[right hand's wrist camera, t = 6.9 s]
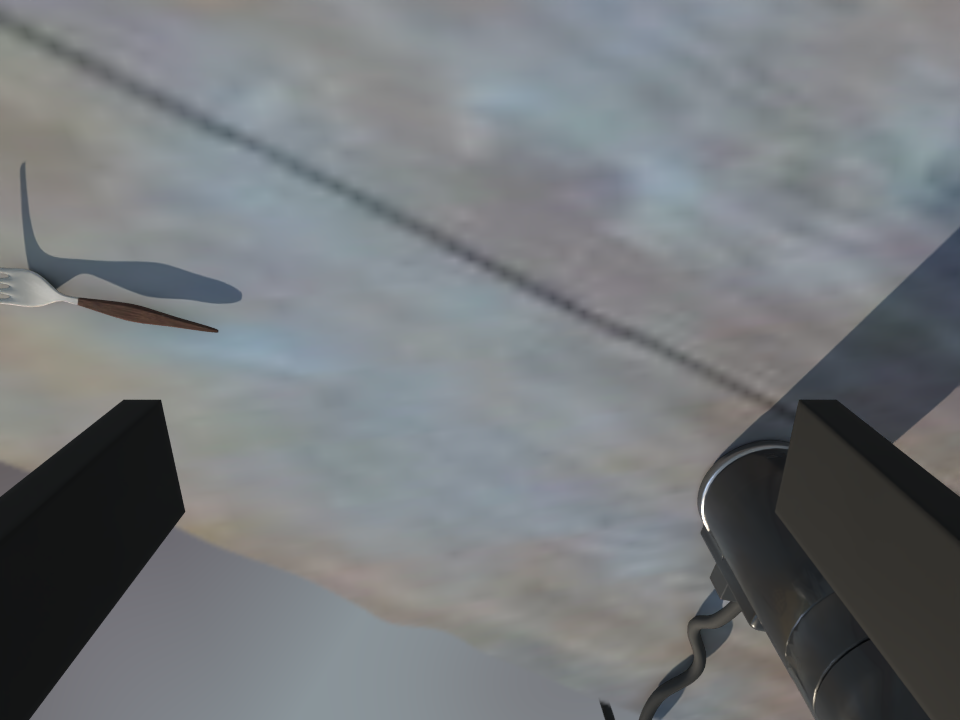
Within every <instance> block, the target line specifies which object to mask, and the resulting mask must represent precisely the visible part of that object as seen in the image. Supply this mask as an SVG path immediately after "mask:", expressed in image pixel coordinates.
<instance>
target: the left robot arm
mask: <svg viewBox="0 0 960 720" xmlns="http://www.w3.org/2000/svg"><path fill="white" fill-rule="evenodd" d="M789 444H790V443H788V442H783V441H774V440H766V441H758V442H753V443H749V444H746V445H743V446H741V447H738V448H736V449H734V450H732V451H731V452H729V453H727V454H726V455H724V456H723V457H722V458H720V459H719V460H718V461H717V462H716V463H715V464H714V465H713V466H712V467H711V468H710V470H709V471H708V472H707V474H706V475H705V477H704V479H703V481H702V483H701V486H700V488H699V492H698V510H699V514H700V517H701V519H702V521H703V523H704V526H703V529H702V531H701V535H702V537H703V539H704V541H705V543H706V545H707V546H708V548H709V550H710V552H711V554H712V556H713V558H714V560H715V562H716V565H715V567H714V569H713V571H712V574H711V576H710V579H711V581H712V583H713V585H714V587H715V589H716V591H717V593H718V595H719V597H720V599H722V600H727V601H730V602H729V603H728V604H727V605H726V606H725V607H724V608H722V609H721V610H720V611H718V612H717V613H715V614H713V615H708V616H696V617H694V618H693V619H692V620H690V622H689V624H688V638H689V641H690V644H691V646H692V649H693V653H694V661H693V663H692V665H691V666H690V667H689V668H688V669H687V670H686V671H685V672H683V673H682V674H680V675H678V676H677V677H675V678H673V679H671V680H669V681H667V682H666V683H664V684H662V685H661V686H660V687H658V688H657V689H656V690H655V691H654V692H653V693H652V695H651V696H650V697H649V699H648V700H647V702H646V704H645V706H644V708H643V710H642V712H641V715H640V718H639V720H652V718H653V716H654V714H655V712H656V710H657V708H658V707H659V705H660V704H661V703H662V702H663V701H664V700H665V699H666V698H667V697H668V696H670V695H671V694H673V693H675V692H677V691H679V690H681V689H683V688H684V687H686V686H688V685H690V684H691V683H693V682H694V681H695V680H696V679H698V677H699V676H700V675H701V674H702V672H703V670H704V668H705V664H706V652H705V648H704V645H703V642H702V639H701V636H700V630H701V629H715V628H719V627H721V626H723V625H725V624H727V623H728V622H729V621H731V620H732V619H733V618H735V617H736V616H737V615H738V614H739V613H740V612H741V611H742V612H743V614H744V616H745V618H746V620H747V622H748V623H749V625H750V626H751V627H752V628H754V629H756V630H759V631H765V632H766V633H767V635H768V637H769V639H770V640H771V642H772V644H773V646H774V648H775V649H776V651H777V653H778V655H779V656H780V658H781V660H782V662H783V664H784V665H785V667H786V669H787V671H788V673H789V674H790V676H791V678H792V679H793V681H794V683H795V685H796V687H797V688H798V690H799V692H800V694H801V696H802V697H803V699H804V701H805V703H806V704H807V706H808V708H809V710H810V712H811V713H812V715H813V717H814V719H815V720H931V719H930V718H929V717H928V715H927V714H926V713H925V711H924V710H923V709H922V707H921V706H920V705H919V703H918V702H917V701H916V699H915V698H914V697H913V695H912V694H911V693H910V691H909V690H908V689H907V687H906V686H905V685H904V683H903V682H902V681H901V679H900V678H899V677H898V675H897V674H896V673H895V671H894V670H893V669H892V667H891V666H890V665H889V663H888V662H887V661H886V659H885V658H884V657H883V655H882V654H881V653H880V651H879V650H878V649H877V647H876V646H875V645H874V643H873V642H872V641H871V639H870V638H869V637H868V635H867V634H866V633H865V631H864V630H863V629H862V627H861V626H860V625H859V623H858V622H857V621H856V619H855V618H854V617H853V615H852V614H851V613H850V611H849V610H848V609H847V607H846V606H845V605H844V603H843V602H842V601H841V599H840V598H839V597H838V595H837V594H836V593H835V591H834V590H833V589H832V587H831V586H830V585H829V583H828V582H827V581H826V579H825V578H824V577H823V575H822V574H821V573H820V571H819V570H818V569H817V567H816V566H815V565H814V563H813V562H812V561H811V559H810V558H809V557H808V555H807V554H806V553H805V551H804V550H803V549H802V547H801V546H800V545H799V543H798V542H797V541H796V539H795V538H794V537H793V535H792V534H791V533H790V531H789V530H788V529H787V527H786V526H785V525H784V523H783V522H782V521H781V519H780V518H779V517H778V515H777V514H776V513H775V509H776V504H777V499H778V495H779V490H780V485H781V481H782V476H783V472H784V467H785V462H786V458H787V453H788V449H789ZM599 702H600V705H601V708H602V712H603V715H604V718H605V720H615V718H614V714H613V711H612V708H611V705H610V704H608V703H605V702H602V701H599Z"/></svg>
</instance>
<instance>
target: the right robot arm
mask: <svg viewBox="0 0 960 720" xmlns="http://www.w3.org/2000/svg"><path fill="white" fill-rule="evenodd" d="M184 513H185V509H184V504H183V499H182V495H181V490H180V485H179V481H178V476H177V472H176V467H175V462H174V458H173V453H172V449H171V444H170V439H169V435H168V430H167V426H166V421H165V416H164V412H163V407H162V402H161V400H123V401H122V402H120V403H119V404H118V405H116V406H115V407H114V408H113V409H111V410H110V411H109V412H108V413H106V414H105V415H104V416H102V417H101V418H100V419H99V420H97V421H96V422H95V423H94V424H92V425H91V426H90V427H89V428H87V429H86V430H85V431H83V432H82V433H81V434H80V435H78V436H77V437H76V438H75V439H73V440H72V441H71V442H69V443H68V444H67V445H66V446H64V447H63V448H62V449H61V450H59V451H58V452H57V453H56V454H54V455H53V456H52V457H50V458H49V459H48V460H47V461H45V462H44V463H43V464H42V465H40V466H39V467H38V468H36V469H35V470H34V471H33V472H31V473H30V474H29V475H28V476H26V477H25V478H24V479H23V480H21V481H20V482H19V483H17V484H16V485H15V486H14V487H12V488H11V489H10V490H9V491H7V492H6V493H5V494H4V495H2V496H1V497H0V720H29V719H30V718H31V717H32V715H33V714H34V713H35V711H36V710H37V708H38V707H39V706H40V705H41V703H42V702H43V701H44V699H45V698H46V696H47V695H48V694H49V693H50V691H51V690H52V689H53V687H54V686H55V684H56V683H57V682H58V680H59V679H60V678H61V677H62V675H63V674H64V673H65V671H66V670H67V669H68V667H69V666H70V665H71V663H72V662H73V661H74V659H75V658H76V657H77V655H78V654H79V653H80V651H81V650H82V649H83V647H84V646H85V645H86V643H87V642H88V641H89V639H90V638H91V637H92V635H93V634H94V633H95V631H96V630H97V629H98V627H99V626H100V625H101V623H102V622H103V621H104V619H105V618H106V617H107V615H108V614H109V613H110V611H111V610H112V609H113V607H114V606H115V605H116V603H117V602H118V601H119V599H120V598H121V597H122V595H123V594H124V593H125V591H126V590H127V589H128V587H129V586H130V585H131V583H132V582H133V581H134V579H135V578H136V577H137V575H138V574H139V573H140V571H141V570H142V569H143V567H144V566H145V565H146V563H147V562H148V561H149V559H150V558H151V557H152V555H153V554H154V553H155V551H156V550H157V549H158V547H159V546H160V545H161V543H162V542H163V541H164V539H165V538H166V537H167V535H168V534H169V533H170V531H171V530H172V529H173V527H174V526H175V525H176V523H177V522H178V521H179V519H180V518H181V517H182V515H183V514H184ZM775 513H776V514H777V515H778V517H779V518H780V519H781V521H782V522H783V523H784V525H785V526H786V527H787V529H788V530H789V531H790V533H791V534H792V535H793V537H794V538H795V539H796V541H797V542H798V543H799V545H800V546H801V547H802V549H803V550H804V551H805V553H806V554H807V555H808V557H809V558H810V559H811V561H812V562H813V563H814V565H815V566H816V567H817V569H818V570H819V571H820V573H821V574H822V575H823V577H824V578H825V579H826V581H827V582H828V583H829V585H830V586H831V587H832V589H833V590H834V591H835V593H836V594H837V595H838V597H839V598H840V599H841V601H842V602H843V603H844V605H845V606H846V607H847V609H848V610H849V611H850V613H851V614H852V615H853V617H854V618H855V619H856V621H857V622H858V623H859V625H860V626H861V627H862V629H863V630H864V631H865V633H866V634H867V635H868V637H869V638H870V639H871V641H872V642H873V643H874V645H875V646H876V647H877V649H878V650H879V651H880V653H881V654H882V655H883V657H884V658H885V659H886V661H887V662H888V663H889V665H890V666H891V667H892V669H893V670H894V671H895V673H896V674H897V675H898V677H899V678H900V679H901V681H902V682H903V683H904V685H905V686H906V687H907V689H908V690H909V691H910V693H911V694H912V695H913V697H914V698H915V699H916V701H917V702H918V703H919V705H920V706H921V707H922V709H923V710H924V711H925V713H926V714H927V715H928V717H929V718H930V719H931V720H960V497H959V496H958V495H957V494H955V493H954V492H953V491H951V490H950V489H949V488H948V487H946V486H945V485H944V484H943V483H941V482H940V481H939V480H937V479H936V478H935V477H934V476H932V475H931V474H930V473H929V472H927V471H926V470H925V469H924V468H922V467H921V466H920V465H918V464H917V463H916V462H915V461H913V460H912V459H911V458H910V457H908V456H907V455H906V454H904V453H903V452H902V451H901V450H899V449H898V448H897V447H896V446H894V445H893V444H892V443H891V442H889V441H888V440H887V439H885V438H884V437H883V436H882V435H880V434H879V433H878V432H877V431H875V430H874V429H873V428H871V427H870V426H869V425H868V424H866V423H865V422H864V421H863V420H861V419H860V418H859V417H858V416H856V415H855V414H854V413H852V412H851V411H850V410H849V409H847V408H846V407H845V406H844V405H842V404H841V403H840V402H838V401H837V400H799V402H798V407H797V412H796V416H795V421H794V426H793V430H792V435H791V439H790V444H789V449H788V453H787V458H786V462H785V467H784V472H783V476H782V481H781V485H780V490H779V495H778V499H777V504H776V509H775Z"/></svg>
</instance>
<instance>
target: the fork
mask: <svg viewBox="0 0 960 720" xmlns="http://www.w3.org/2000/svg"><path fill="white" fill-rule="evenodd" d="M0 273H4V274H7V275H9V277H7V278H0V283H2V284H7V285H9V287H8V288H0V294H7V295H9V296H10V297H9V298H2V299H0V304H10V305H17V306H26V307H38V306H43V305H47V304H50V303H53V302H57V301H65V302H69V303H73V304H76V305H79V306H83V307H86V308H89V309H92V310H95V311H98V312H101V313H104V314H107V315H110V316H113V317H117V318H120V319H124V320H128V321H132V322H138V323H145V324H153V325H161V326H170V327H177V328H184V329H191V330H199V331H206V332H216V333H217V332H218V330H217V329H215V328H212V327H209V326H205V325H202V324H199V323H195V322H192V321H188V320H185V319H181V318H178V317H174V316H171V315H168V314H165V313H162V312H159V311H155V310H152V309H149V308H146V307H142V306H138V305H134V304H129V303H122V302H114V301H106V300H97V299H87V298H79V297H72V296H67V295H64V294H62V293H60V292H59V291H58V290H56V289H55V288H54V287H53V286H52V285H51V284H50V283H49V282H48V281H47V280H46V279H44V278H43V277H42V276H40V275H39V274H37V273H35V272H33V271H31V270H27V269H21V268H0Z"/></svg>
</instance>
